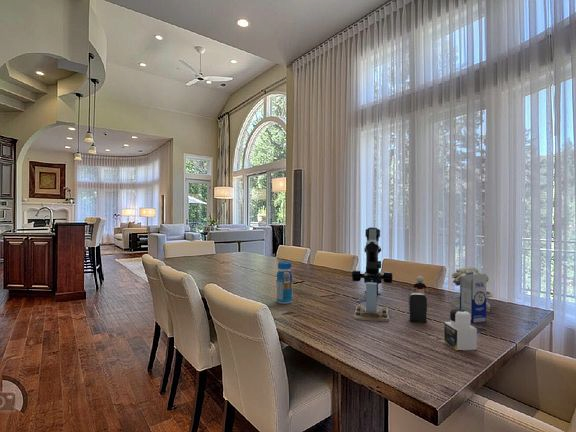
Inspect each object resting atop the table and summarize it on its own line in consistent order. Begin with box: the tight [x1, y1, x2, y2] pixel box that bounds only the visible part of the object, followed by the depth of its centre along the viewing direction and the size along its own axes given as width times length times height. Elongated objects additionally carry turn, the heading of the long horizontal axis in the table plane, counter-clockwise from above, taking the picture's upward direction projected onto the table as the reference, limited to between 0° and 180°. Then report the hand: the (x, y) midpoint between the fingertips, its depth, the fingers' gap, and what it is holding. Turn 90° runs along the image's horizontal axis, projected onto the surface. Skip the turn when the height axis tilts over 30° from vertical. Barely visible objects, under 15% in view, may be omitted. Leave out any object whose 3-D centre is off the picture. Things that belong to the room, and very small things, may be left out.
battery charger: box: [408, 292, 428, 323], centre depth 130 cm, size 7×4×11 cm, turn 79°
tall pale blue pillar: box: [365, 282, 378, 313], centre depth 136 cm, size 5×4×13 cm
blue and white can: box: [275, 260, 294, 305], centre depth 159 cm, size 8×8×20 cm
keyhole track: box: [353, 304, 390, 323], centre depth 138 cm, size 16×14×3 cm
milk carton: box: [459, 272, 487, 324], centre depth 131 cm, size 7×7×20 cm
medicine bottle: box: [443, 308, 478, 351], centre depth 106 cm, size 7×7×12 cm
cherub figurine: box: [449, 266, 493, 313], centre depth 153 cm, size 18×18×18 cm
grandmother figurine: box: [411, 275, 429, 296], centre depth 160 cm, size 8×4×13 cm, turn 84°
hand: (371, 292), depth 146 cm, fingers closed
